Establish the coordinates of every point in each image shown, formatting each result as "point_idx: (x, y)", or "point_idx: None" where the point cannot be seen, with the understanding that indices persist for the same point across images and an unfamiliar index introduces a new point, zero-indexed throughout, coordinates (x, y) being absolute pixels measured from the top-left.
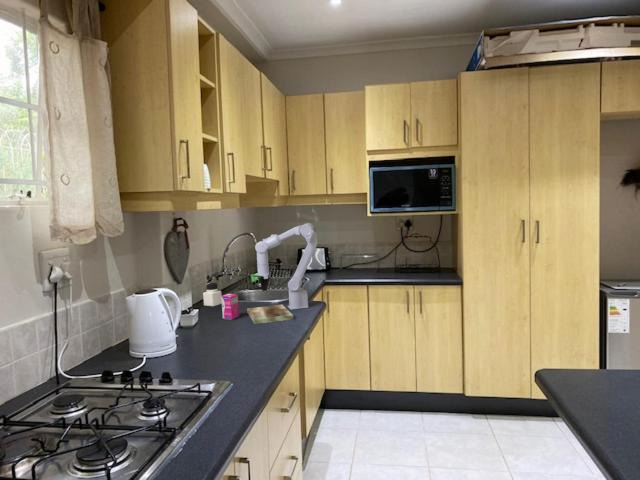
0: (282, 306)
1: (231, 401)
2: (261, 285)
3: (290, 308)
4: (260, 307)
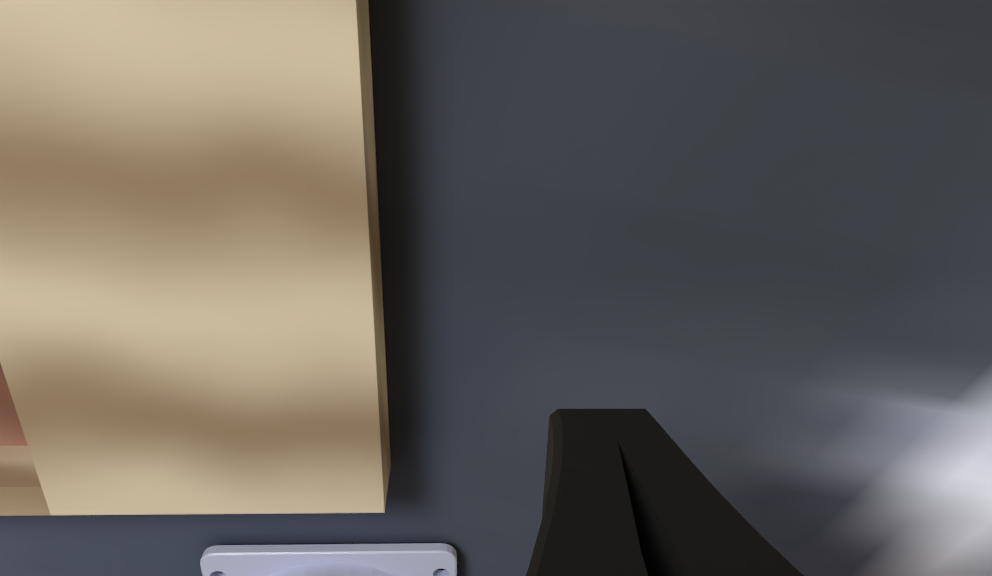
0: (216, 491)
1: None
2: (540, 550)
3: (236, 557)
4: (309, 96)
